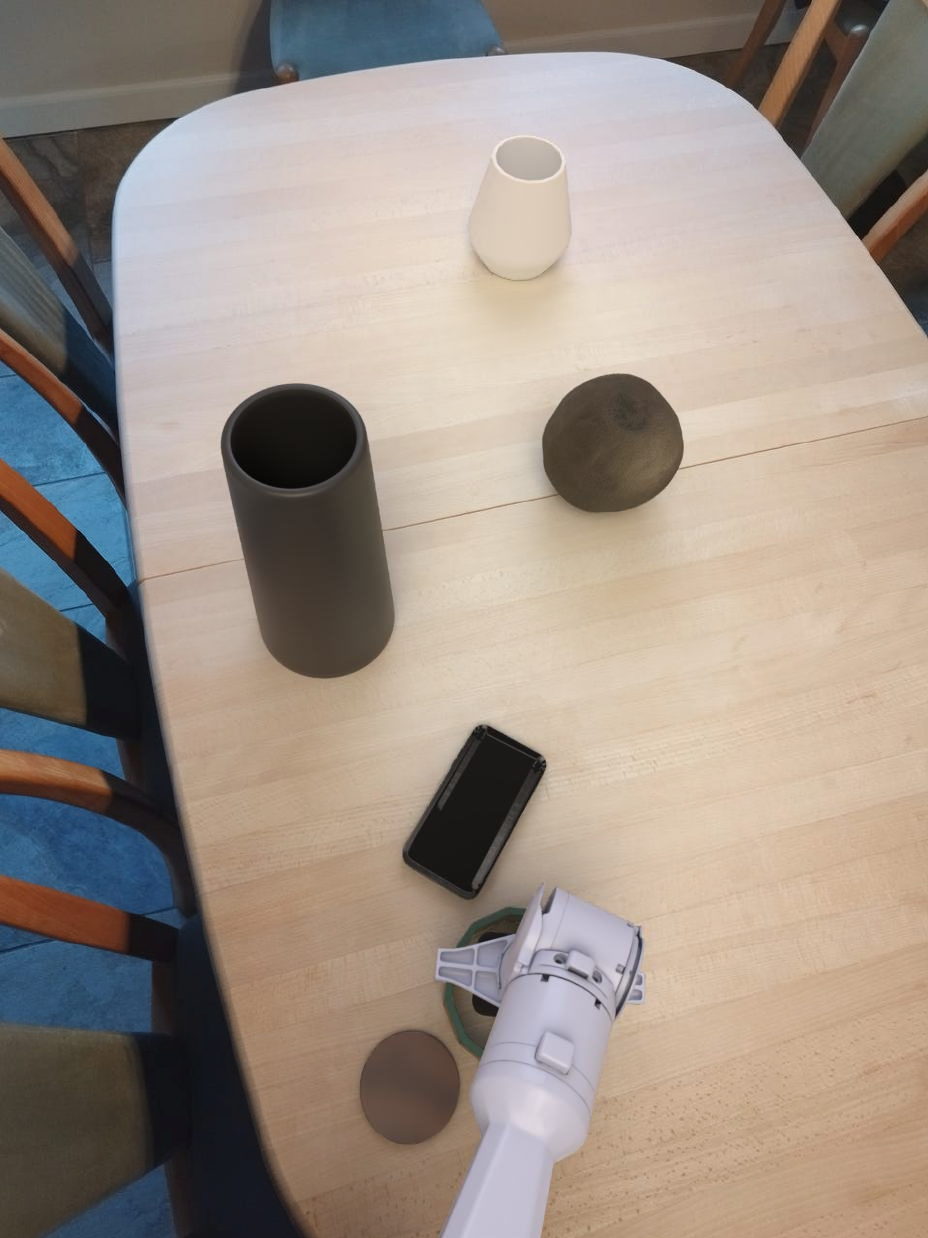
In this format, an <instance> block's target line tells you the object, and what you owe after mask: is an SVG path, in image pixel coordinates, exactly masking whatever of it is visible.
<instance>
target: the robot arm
mask: <svg viewBox="0 0 928 1238" xmlns="http://www.w3.org/2000/svg"><path fill="white" fill-rule="evenodd" d="M545 888H546V883H545V882H542V883H541V885H539V887H538V889H537V890H536V891H535V893H534V894H533V896H532V897H531V898H530V901H529V903H528V905H527V907H526V908H525V909H526V911H525V913H524V916H523V918H522V920H521V923H519V925H518V927H517V930H516V933H510V932H502V931H501V932H500V931H494V930H490V931H489V930H488V931H485V932H484V933H482V934H481V935H480V936H479V938H478V939H477V943H474V944H471V945H467V946H466V947H462V948H456V949H455V948H442V947H439V948H438V949H437V952H436V958H435V959H436V960H435V968H434V975H433V976H434V977H433V981H434V982H437V983H445V982H449V983H452V984H454V985H455V986H456V987H460V988H461V989H463V990H465V991H466V992H469V993H470V994H471V995H472V996H471V1004H472V1008H473V1011H474V1012H475V1013H477V1014H479V1015H480V1016H483V1017H490V1018H495V1019H494V1021H493V1024H492V1027H491V1030H490V1032H489V1035H488V1038H487V1041H486V1044H485V1046H484V1049H483V1050H484V1052H483V1055H482V1057H481V1060H479V1064H478V1066H477V1069H476V1071H475V1074H474V1077H473V1080H472V1083H471V1085H470V1088H469V1094H468V1095H469V1096H468V1097H469V1103H470V1107H471V1111H472V1113H473V1115H474V1118H475V1121H476V1123H477V1127H478V1130H479V1133H480V1139H479V1141H478V1144H477V1146H476V1148H475V1150H474V1153H473V1155H472V1157H471V1160H470V1162H469V1164H468V1167H467V1169H466V1172H465V1174H464V1175H463V1176H464V1177H463V1179H462V1181H461V1184H460V1186H459V1188H458V1190H457V1193H456V1195H455V1197H454V1200H453V1202H452V1204H451V1207H450V1209H449V1212H448V1214H447V1216H446V1219H445V1221H444V1223H443V1226H442V1228H441V1231H440V1233H439V1235H438V1237H437V1238H542V1232H543V1227H544V1221H545V1215H546V1209H547V1204H548V1198H549V1192H550V1188H551V1187H550V1186H551V1182H552V1175H553V1169H554V1165H556V1164H557V1163H558V1162H560V1161H562V1160H564V1159H565V1158H567V1157H569V1156H571V1155H572V1154H574V1153H576V1152H577V1151H579V1150H580V1149H581V1148H582V1147H583V1145H584V1144H585V1142H586V1140H587V1138H588V1134H589V1129H590V1126H591V1121H592V1116H593V1112H594V1108H595V1104H596V1099H597V1095H598V1090H599V1086H600V1082H601V1078H602V1074H603V1069H604V1066H605V1062H606V1057H607V1054H608V1053H607V1052H608V1048H609V1045H610V1044H609V1043H610V1039H611V1036H612V1031H613V1027H614V1023H615V1022H616V1021H617V1020H618V1019H619V1017H620V1016H621V1015H622V1013H623V1012H624V1010H625V1008H626V1006H627V1005H630V1006H631V1005H632V1006H641V1005H645V1003H646V973H645V972H643V971H641V968H642V964H643V959H644V953H645V948H646V942H645V939H644V938H643V930H644V929H643V925H635V924H634V922H632V921H630V920H627V919H625V918H623V917H621V916H619V915H617V914H615V913H613V912H610V911H608V910H606V909H604V908H602V907H600V906H598V905H596V904H594V903H592V902H589V901H588V900H586V899H583V898H581V897H579V896H577V895H575V894H573V893H571V892H568V891H566V890H564V889H562V888H560V887H558V886H555V887H554V888H553V890H552V891H551V893H550V895H549V897H548V898H547V901H546V903H545V905H544V907H543V909H542V904H541V903H542V902H541V901H542V898H543V896H544V892H545ZM541 910H542V911H541Z"/></svg>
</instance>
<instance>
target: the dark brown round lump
mask: <svg viewBox="0 0 928 1238" xmlns="http://www.w3.org/2000/svg"><path fill="white" fill-rule="evenodd" d="M684 443H685V442H684V437H683V430H682V425H681V423H680V419H679V416H678V414H677V413H676V411H675V410H674V409H673V407H672V406H671V404H670V402H668V400H667V399H666V398H665V397H664V395H663V394H662V393H661V392H660V391H659V390H658V389H657V388H656V387H655V386H654V384H652V383H651V382H649V381H648V380H647V379H644V378H642V377H640V376H636V375H634V374H630V373H620V372H619V373H618V372H617V373H616V372H615V373H609V374H603V375H600V376H596V377H593V378H591V379H588V380H586V381H584V382H582V383H580V384H579V385H577V386H575V387H574V388H572V390H570V391H568V393H566V394H565V395H564V396H563V398H562V399H561V400H560V402H559V403H558V405H557V406H556V408H555V410H554V411H553V412H552V414H551V416H550V417H549V419H547V422H546V424H545V427H544V430H543V433H542V439H541V447H542V465H543V469H544V473H545V474H546V477H547V479H548V480H549V483H550V484H551V486H552V487H553V489H554V490H555V491H556V493H557V494H558V495H559V496H561V498H563V500H565V501H566V502H567V503H568V504H570V505H571V506H573V507H575V508H577V509H579V510H581V511H583V512H588V513H593V514H594V513H595V514H597V513H598V514H599V513H619V512H623V511H627V510H631V509H635V508H637V507H640V506H642V505H644V504H647V503H648V502H650V501H652V500H653V499H655V498H656V497H657V496H658V495H660V493H662V492H663V491H664V490H665V489H666V488H667V487H668V486H669V484H670V483H671V482H672V480H673V479H674V478H675V476H676V475H677V472H678V471H679V468H680V466H681V464H682V461H683V459H684V458H683V457H684V452H685V444H684Z"/></svg>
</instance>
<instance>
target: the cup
mask: <svg viewBox="0 0 928 1238" xmlns="http://www.w3.org/2000/svg"><path fill="white" fill-rule="evenodd" d="M466 224H467V225H466V227H467V232H468V233H467V234H468V237H469V241H470V245H471V246H472V248H473V250H474V252H476V254H477V255H478V257H479V258H480V260H481V261H482V263H483V265H485V267H486V268H487V269H488V270H489V272H491V273H492V274H494V275H496V276H498V277H500V278H502V279H506V280H511V281H515V282H516V281H517V282H518V281H529V280H532V279H535V278H537V277H539V276H542V274H544V273H545V272H546V271H547V270H548V269H549V268H550V267H552V266H553V264H555V263H556V262H557V261H558V260H559V259H560V258H561V257H562V256H563V255H564V254H565V253H566V252H567V249H568V248H569V246H570V245H569V244H570V242H571V237H572V233H573V225H572V215H571V204H570V192H569V181H568V170H567V160H566V157H565V155H564V151H562V150H561V149H560V147H558V145H557V144H555V143H553V142H552V141H549V140H548V139H546V138H544V137H539V136H534V135H530V134H525V135H514V136H510V137H507V138H505V139H502V140H501V141H500V142H498V144H497V145H495V146H494V148H493V151H492V154H491V156H490V158H489V162H488V164H487V167H486V170H485V172H484V175H483V177H482V181H481V183H480V185H479V189H478V192H477V194H476V196H475V200H474V203H473V205H472V208H471V211H470V214H469V216H468V219H467V223H466Z"/></svg>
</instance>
